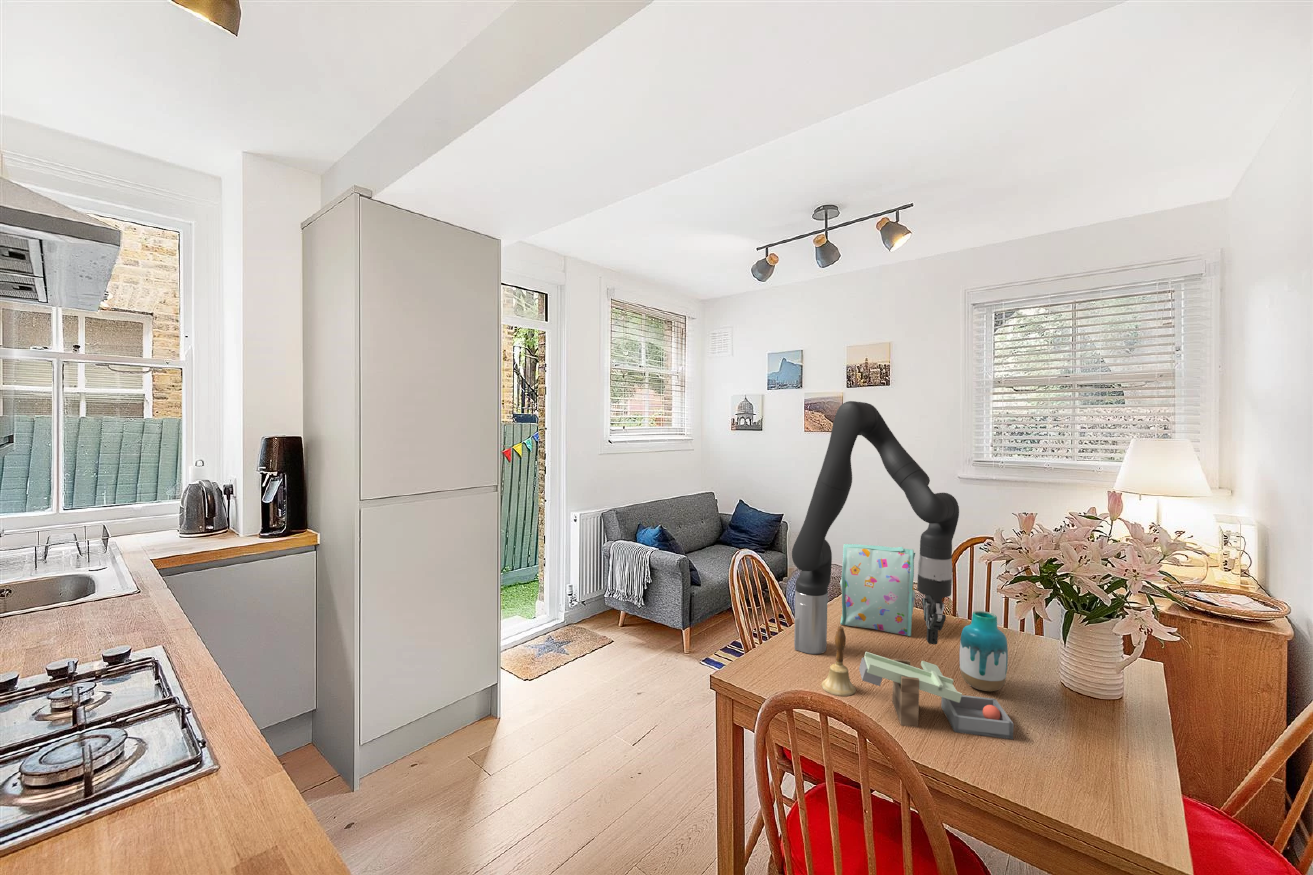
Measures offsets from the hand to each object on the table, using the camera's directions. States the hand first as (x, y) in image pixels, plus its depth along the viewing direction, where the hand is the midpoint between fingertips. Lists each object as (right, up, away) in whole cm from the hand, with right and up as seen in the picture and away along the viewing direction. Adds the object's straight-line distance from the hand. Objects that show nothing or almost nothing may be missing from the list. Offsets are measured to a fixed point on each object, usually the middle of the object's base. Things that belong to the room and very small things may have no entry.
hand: (931, 642), depth 137 cm
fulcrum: (-10, -14, -7) cm, 19 cm away
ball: (+8, -12, -11) cm, 18 cm away
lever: (-9, -8, -3) cm, 12 cm away
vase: (+16, -14, +5) cm, 21 cm away
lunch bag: (+5, -12, +47) cm, 48 cm away
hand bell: (-22, -14, +5) cm, 26 cm away
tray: (+5, -14, -11) cm, 18 cm away
